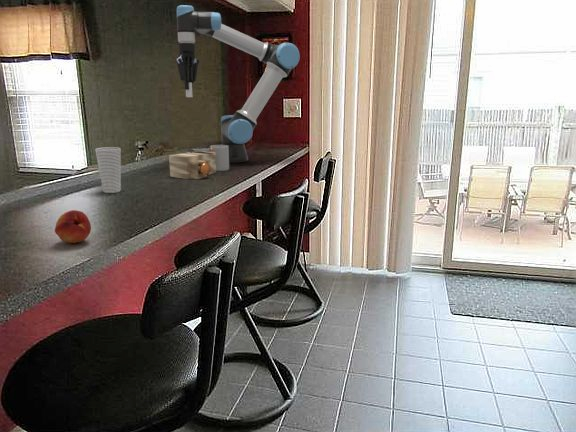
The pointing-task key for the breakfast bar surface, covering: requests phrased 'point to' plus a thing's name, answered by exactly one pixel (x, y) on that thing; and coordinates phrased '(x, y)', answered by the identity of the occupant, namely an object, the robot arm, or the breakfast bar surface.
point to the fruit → (73, 227)
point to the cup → (109, 168)
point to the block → (191, 164)
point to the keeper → (203, 149)
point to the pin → (204, 168)
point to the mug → (221, 157)
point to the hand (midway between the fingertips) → (189, 97)
